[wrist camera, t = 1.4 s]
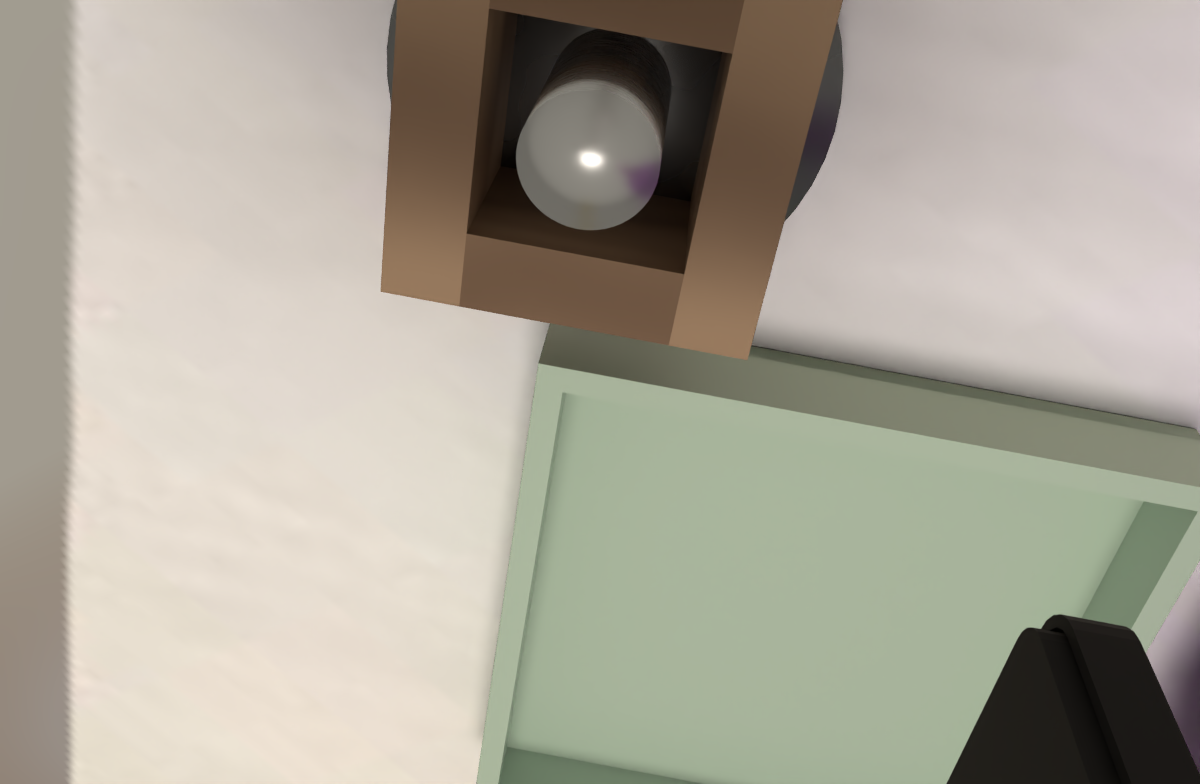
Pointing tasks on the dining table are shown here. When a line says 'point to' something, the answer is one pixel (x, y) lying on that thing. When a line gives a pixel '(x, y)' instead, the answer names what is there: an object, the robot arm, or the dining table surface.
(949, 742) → the green rectangular frame
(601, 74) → the peg on round base
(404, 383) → the dining table surface
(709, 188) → the wooden square frame
